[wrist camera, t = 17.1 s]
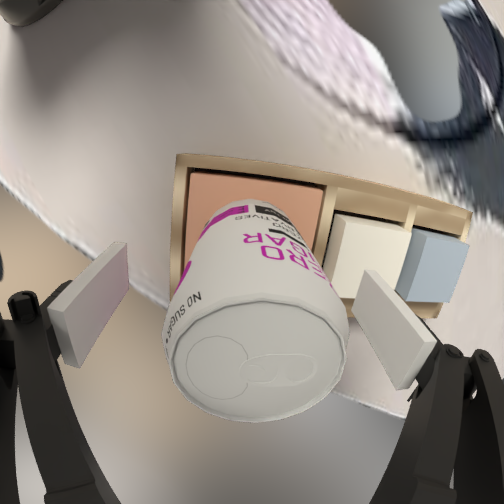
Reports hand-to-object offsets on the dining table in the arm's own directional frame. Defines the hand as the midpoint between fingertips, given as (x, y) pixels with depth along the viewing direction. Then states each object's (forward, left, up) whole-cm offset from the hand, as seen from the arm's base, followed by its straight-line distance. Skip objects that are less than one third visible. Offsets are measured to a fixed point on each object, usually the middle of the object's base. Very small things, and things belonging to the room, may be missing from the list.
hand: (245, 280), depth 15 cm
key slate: (+1, +21, -13) cm, 24 cm away
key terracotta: (+1, +1, -14) cm, 14 cm away
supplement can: (+1, +1, -10) cm, 10 cm away
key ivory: (+1, +12, -12) cm, 17 cm away
